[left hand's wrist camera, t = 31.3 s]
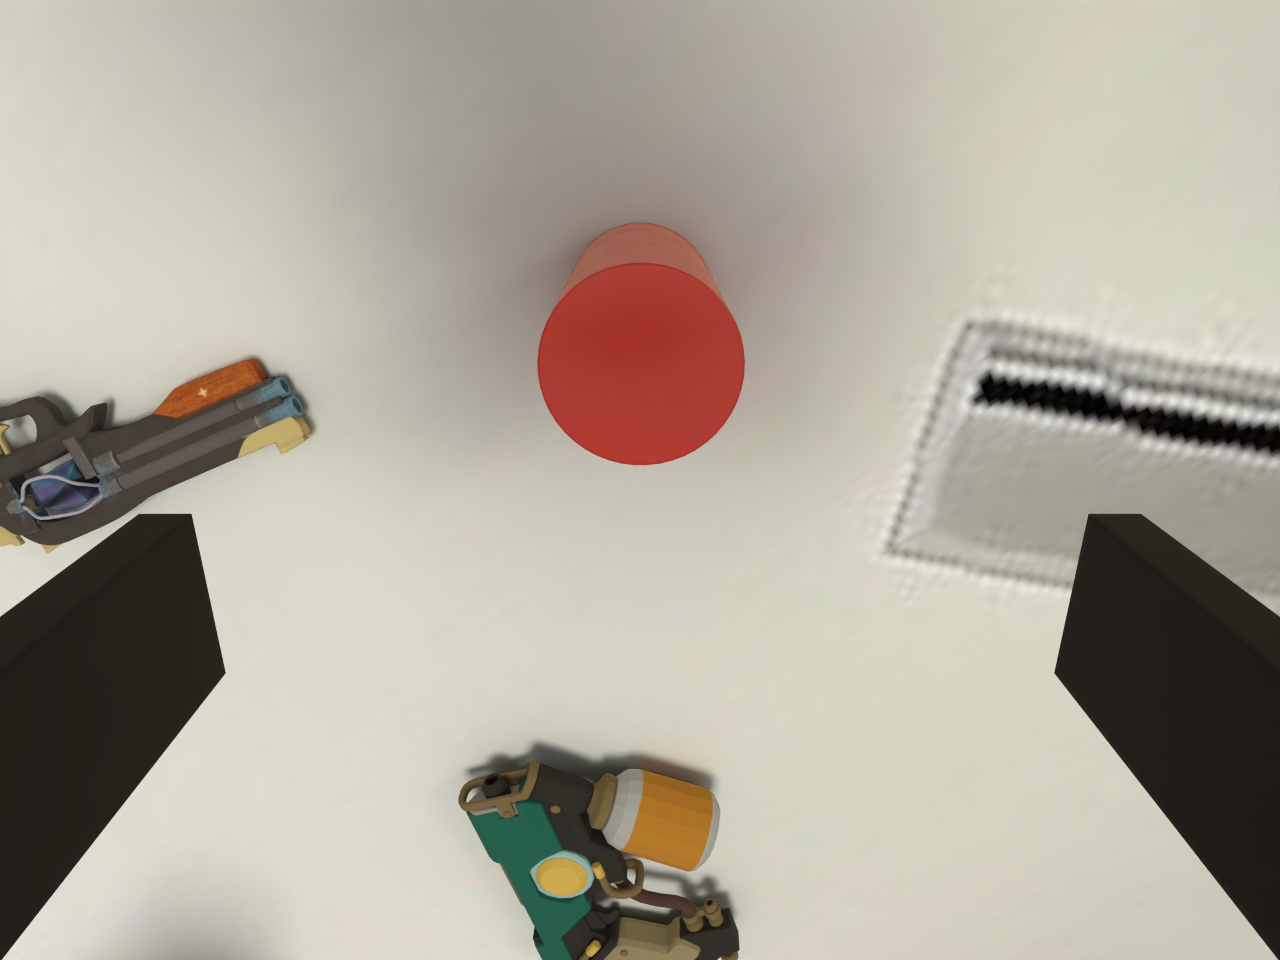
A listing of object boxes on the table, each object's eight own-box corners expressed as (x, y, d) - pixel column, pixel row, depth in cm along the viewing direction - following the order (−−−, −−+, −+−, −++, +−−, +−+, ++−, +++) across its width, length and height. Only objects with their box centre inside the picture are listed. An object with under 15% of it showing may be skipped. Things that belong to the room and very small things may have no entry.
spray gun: (734, 948, 52) (493, 944, 53) (743, 740, 45) (464, 737, 46) (739, 1017, 48) (479, 1012, 49) (750, 801, 41) (445, 798, 42)
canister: (648, 191, 35) (652, 215, 23) (739, 303, 37) (786, 379, 25) (541, 288, 37) (494, 358, 25) (633, 392, 39) (630, 503, 27)
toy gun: (-204, 406, 36) (-68, 606, 38) (188, 225, 35) (305, 445, 37) (-148, 397, 39) (-24, 585, 41) (218, 228, 37) (326, 434, 40)
